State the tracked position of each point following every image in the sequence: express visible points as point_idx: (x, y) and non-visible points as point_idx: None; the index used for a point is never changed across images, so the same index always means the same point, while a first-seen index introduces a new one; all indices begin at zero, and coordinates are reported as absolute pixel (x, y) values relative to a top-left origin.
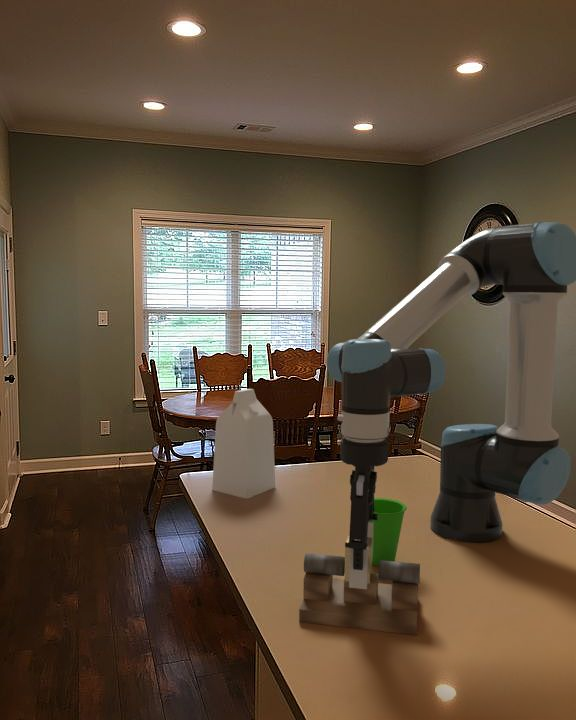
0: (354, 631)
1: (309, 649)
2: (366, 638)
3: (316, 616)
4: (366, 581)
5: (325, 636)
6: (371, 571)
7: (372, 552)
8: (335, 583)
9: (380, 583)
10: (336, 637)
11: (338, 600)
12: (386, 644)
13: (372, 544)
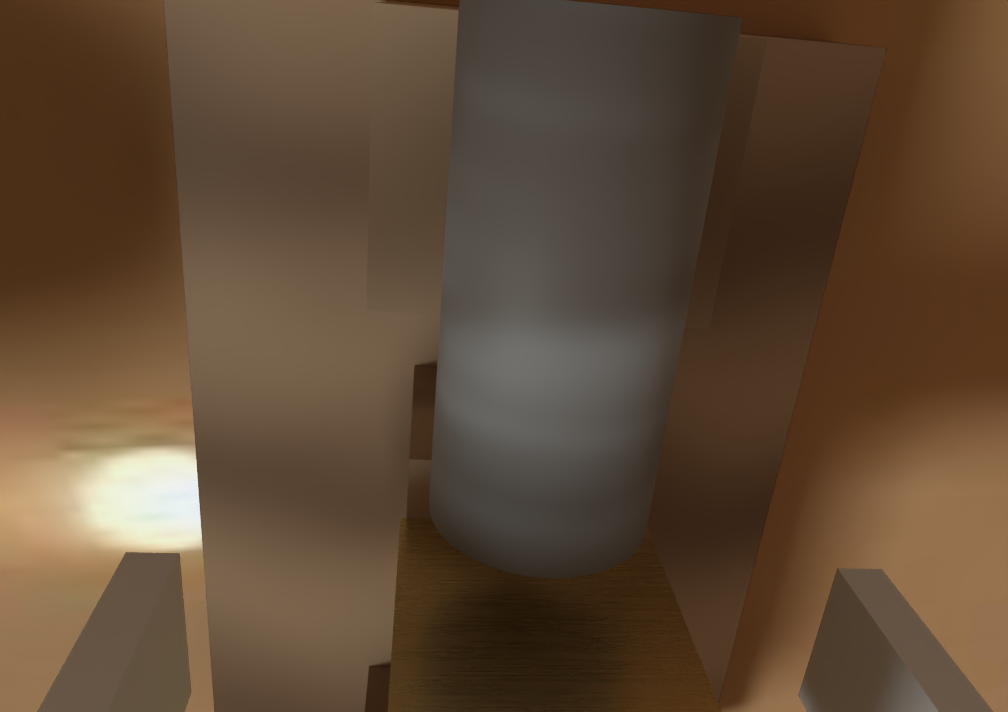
0: None
1: (951, 645)
2: (859, 385)
3: None
4: (925, 626)
5: (829, 592)
6: (443, 540)
7: (149, 620)
8: (292, 655)
9: (189, 346)
10: (841, 541)
11: None
12: (937, 264)
13: (108, 705)
